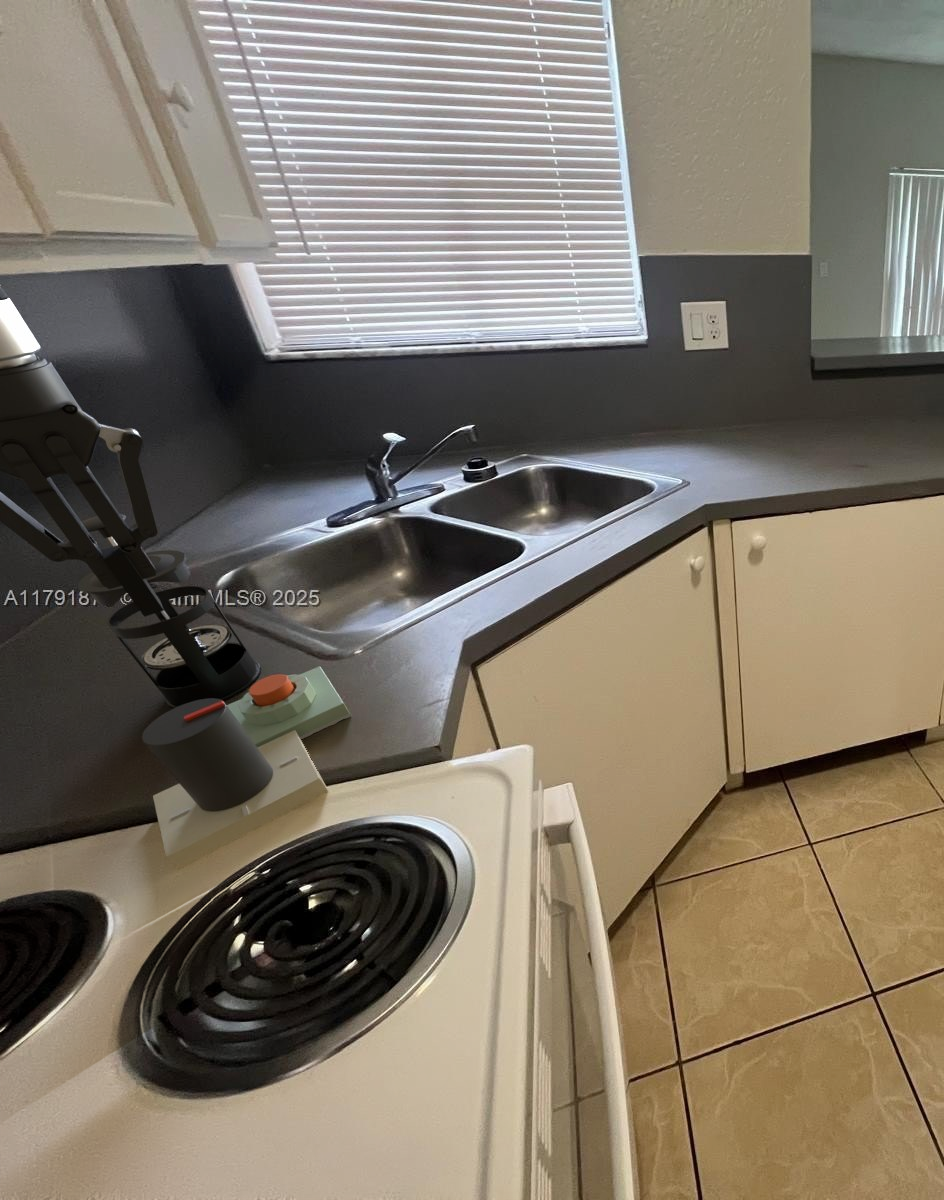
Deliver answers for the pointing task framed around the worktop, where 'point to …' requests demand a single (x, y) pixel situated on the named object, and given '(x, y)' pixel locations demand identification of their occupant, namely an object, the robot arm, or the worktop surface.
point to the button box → (291, 709)
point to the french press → (178, 634)
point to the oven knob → (209, 754)
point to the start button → (271, 690)
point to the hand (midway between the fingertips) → (152, 608)
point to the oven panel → (207, 831)
